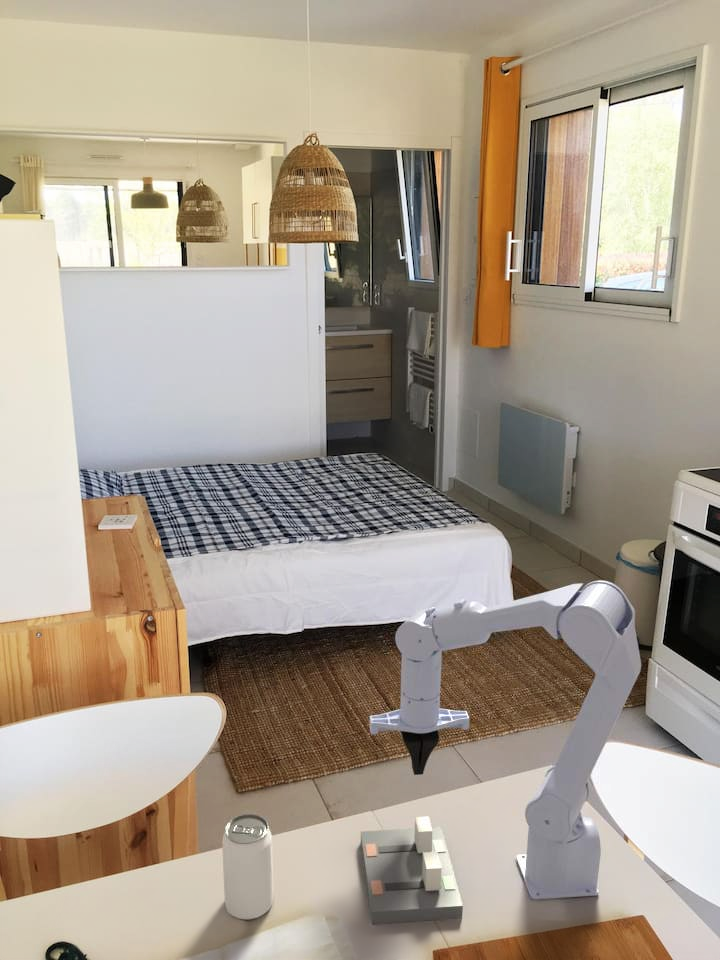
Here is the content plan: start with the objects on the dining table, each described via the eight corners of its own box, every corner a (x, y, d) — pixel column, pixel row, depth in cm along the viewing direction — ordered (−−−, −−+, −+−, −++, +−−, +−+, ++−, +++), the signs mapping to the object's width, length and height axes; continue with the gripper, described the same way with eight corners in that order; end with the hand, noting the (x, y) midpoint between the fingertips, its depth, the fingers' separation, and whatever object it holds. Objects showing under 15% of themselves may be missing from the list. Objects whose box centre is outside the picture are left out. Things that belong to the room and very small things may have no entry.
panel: (440, 838, 123) (441, 826, 122) (462, 918, 108) (462, 905, 108) (360, 842, 121) (360, 830, 121) (371, 924, 107) (371, 911, 106)
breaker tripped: (427, 837, 119) (428, 816, 118) (431, 852, 116) (432, 831, 115) (414, 838, 119) (415, 817, 118) (417, 853, 116) (418, 831, 115)
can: (265, 925, 107) (262, 849, 103) (217, 917, 108) (214, 841, 104) (279, 888, 113) (277, 815, 109) (234, 881, 114) (231, 808, 111)
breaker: (436, 873, 113) (437, 851, 112) (440, 890, 110) (441, 867, 109) (422, 874, 112) (422, 852, 111) (425, 890, 109) (426, 868, 108)
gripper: (463, 674, 124) (459, 751, 127) (367, 678, 122) (366, 756, 126) (474, 699, 117) (469, 780, 121) (373, 704, 115) (371, 786, 119)
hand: (417, 770), depth 123 cm, fingers closed
